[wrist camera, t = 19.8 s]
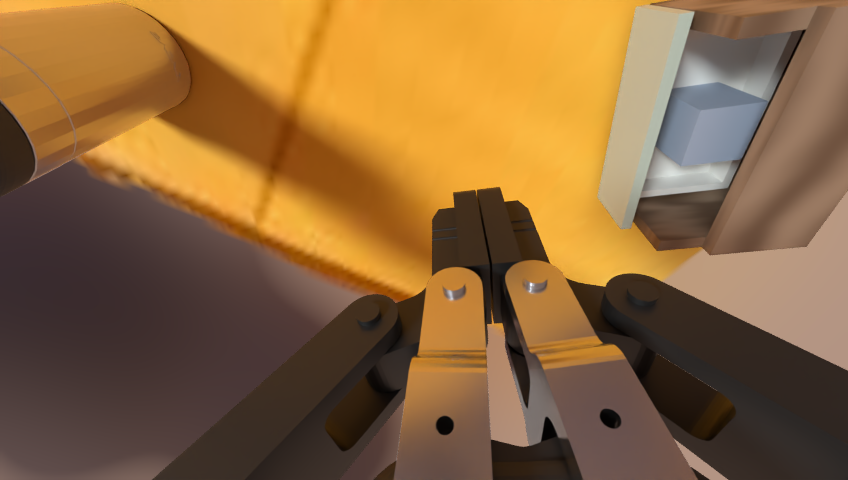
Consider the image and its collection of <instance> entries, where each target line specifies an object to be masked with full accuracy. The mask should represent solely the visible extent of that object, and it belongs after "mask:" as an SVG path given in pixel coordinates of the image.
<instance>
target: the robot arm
mask: <svg viewBox="0 0 848 480" xmlns="http://www.w3.org/2000/svg"><path fill="white" fill-rule="evenodd" d="M190 85H191V76H190V70H189V66H188V63H187V61H186V58H185V56H184V54H183V52H182V50H181V48H180V47H179V45H178V44H177V42H176V41H175V39H174V38H173V37H172V36H171V35H170V33H169V32H168V31H167V30H166V29H165V28H164V27H163V26H162V25H160V24H159V23H158V22H157V21H156V20H155V19H153V18H152V17H150V16H149V15H147V14H146V13H144V12H142V11H140V10H138V9H136V8H134V7H131V6H128V5H124V4H119V3H105V4H94V5H84V6H71V7H61V8H50V9H40V10H30V11H19V12H9V13H0V197H1V196H3V195H5V194H7V193H9V192H11V191H13V190H15V189H17V188H19V187H20V186H23V185H24V184H26V183H28V182H30V181H32V180H34V179H36V178H38V177H40V176H42V175H44V174H45V173H48V172H50V171H52V170H53V169H55V168H57V167H59V166H61V165H62V164H64V163H66V162H68V161H70V160H72V159H74V158H76V157H78V156H80V155H82V154H84V153H86V152H88V151H89V150H91V149H93V148H95V147H97V146H99V145H101V144H103V143H105V142H107V141H109V140H111V139H113V138H115V137H116V136H118V135H120V134H122V133H124V132H126V131H128V130H130V129H132V128H134V127H136V126H138V125H140V124H142V123H143V122H145V121H147V120H149V119H151V118H153V117H155V116H157V115H159V114H161V113H163V112H165V111H167V110H169V109H171V108H173V107H174V106H176V105H178V104H180V103H181V102H182V101H183V100H184V99H185V98H186V97H187V95H188V93H189V90H190ZM453 196H454V207H455V208H446V209H439V210H438V211H437V213H436V214H435V216H434V218H433V219H432V231H433V232H432V240H433V241H432V277H431V278H430V280H429V281H428V283H427V287H426V288H425V289H424V290H423V291H422V292H421V293H419V294H418V295H416V296H414V297H412V298H409V299H406V300H404V301H401V302H398V303H395V302H394V301H393V300H392V299H391V298H389V297H387V296H384V295H379V294H373V295H367V296H364V297H361V298H359V299H357V300H356V301H354V302H353V303H352V304H350V305H349V306H348V307H347V308H346V309H345V310H343V311H342V312H341V313H340V314H339V315H338V316H337V317H336V318H334V319H333V320H332V321H331V322H330V323H329V324H328V325H327V326H325V327H324V328H323V329H322V330H321V331H320V332H319V333H317V334H316V335H315V336H314V337H313V338H312V339H311V340H310V341H308V342H307V343H306V344H305V345H304V346H303V347H302V348H301V349H299V350H298V351H297V352H296V353H295V354H294V355H293V356H291V357H290V358H289V359H288V360H287V361H286V362H285V363H284V364H282V365H281V366H280V367H279V368H278V369H277V370H276V371H274V372H273V373H272V374H271V375H270V376H269V377H268V378H267V379H265V380H264V381H263V382H262V383H261V384H260V385H259V386H258V387H256V388H255V389H254V390H253V391H252V392H251V393H250V394H249V395H247V396H246V397H245V398H244V399H243V400H242V401H241V402H239V404H237V405H236V406H235V407H234V408H233V409H231V410H230V411H229V412H228V413H227V414H226V415H225V416H224V417H222V418H221V419H220V420H219V421H218V422H217V423H216V424H215V425H214V426H212V427H211V428H210V429H209V430H208V431H207V432H206V433H204V434H203V435H202V436H201V437H200V438H199V439H198V440H196V442H195V443H193V444H192V445H191V446H190V447H189V448H187V449H186V450H185V451H184V452H183V453H182V454H181V455H180V456H178V457H177V458H176V459H175V460H174V461H173V462H172V463H170V464H169V465H168V466H167V467H166V468H165V469H164V470H163V471H161V472H160V473H159V474H158V475H157V476H156V477H155V478H154V479H153V480H340V478H341V477H342V476H343V475H344V473H345V472H346V471H347V470H348V468H349V467H350V466H351V465H352V463H353V462H354V461H355V460H356V459H357V457H358V456H359V455H360V453H361V452H362V451H363V450H364V448H365V447H366V446H367V445H368V444H369V442H370V441H371V440H372V439H373V437H374V436H375V435H376V434H377V433H378V431H379V430H380V429H381V427H382V426H383V425H384V424H385V423H386V421H387V420H388V419H389V418H390V416H391V415H392V414H393V413H394V411H395V410H396V409H397V408H398V406H399V405H400V404H401V403H402V401H403V400H404V399H405V403H404V410H403V417H402V424H401V432H400V438H399V446H398V453H397V460H396V461H395V462H394V463H392V464H391V465H389V466H388V467H387V468H385V470H383V471H382V472H381V473H380V474H379V475H378V476H377V477H376V478H375V479H374V480H709V479H708V478H706V477H705V476H704V475H702V474H701V473H699V472H698V471H696V470H695V469H693V468H692V467H690V466H689V464H688V462H687V461H686V459H685V457H684V456H683V454H682V452H681V450H680V449H679V447H678V445H677V444H676V442H675V440H677V441H678V442H679V443H681V444H682V445H683V446H685V447H686V448H687V449H689V450H690V451H691V452H693V453H694V454H695V455H697V456H698V457H699V458H701V459H702V460H703V461H704V462H706V463H707V464H709V465H710V466H711V467H713V468H714V469H715V470H716V471H718V472H719V473H720V474H722V475H723V476H724V477H726V478H727V479H728V480H848V371H847V370H845V369H843V368H841V367H839V366H837V365H834V364H833V363H830V362H829V361H826V360H824V359H822V358H820V357H818V356H816V355H814V354H812V353H810V352H808V351H805V350H803V349H801V348H799V347H797V346H795V345H793V344H791V343H789V342H786V341H785V340H782V339H780V338H778V337H776V336H774V335H772V334H770V333H768V332H766V331H764V330H762V329H760V328H757V327H755V326H753V325H751V324H749V323H747V322H745V321H743V320H741V319H738V318H737V317H734V316H732V315H730V314H728V313H726V312H724V311H722V310H720V309H717V308H716V307H714V306H711V305H709V304H707V303H705V302H703V301H701V300H699V299H696V298H695V297H693V296H690V295H688V294H686V293H684V292H682V291H680V290H678V289H676V288H674V287H672V286H670V285H667V284H665V283H663V282H661V281H659V280H657V279H655V278H652V277H649V276H646V275H641V274H622V275H618V276H615V277H613V278H612V279H611V280H609V282H608V283H607V285H606V287H603V286H596V285H590V284H583V283H578V282H575V281H572V280H569V279H567V278H565V277H564V275H563V273H562V272H561V271H560V270H559V269H558V268H556V267H555V266H553V265H551V264H550V262H549V260H548V257H547V255H546V252H545V250H544V247H543V245H542V242H541V240H540V237H539V235H538V232H537V230H536V227H535V225H534V222H533V221H532V217H531V215H530V212H529V210H528V208H527V207H525V206H524V205H523V204H522V203H520V202H519V201H518V200H517V201H508V202H504V199H503V196H502V192H501V189H500V187H496V188H487V189H479V190H477V196H476V191H475V190H471V191H462V192H454V193H453ZM491 308H492V314H493V320H494V323H503V327H504V332H505V349H506V353H507V356H508V360H509V363H510V367H511V371H512V374H513V378H514V381H515V385H516V388H517V392H518V395H519V399H520V402H521V406H522V410H523V414H524V419H525V424H526V432H527V438H528V443H529V446H527V447H519V446H515V445H511V444H507V443H503V442H499V441H495V440H491V433H490V432H491V430H490V412H489V393H488V375H487V356H486V347H487V344H488V330H487V324H492V317H491ZM658 354H659V355H658ZM660 355H661V356H660ZM663 357H664V358H663ZM668 360H669V361H668ZM671 362H672V363H671ZM676 365H677V366H676ZM679 367H680V368H679ZM684 370H685V371H684ZM687 372H688V373H687ZM689 373H690V374H689ZM692 375H693V376H692ZM697 378H698V379H697ZM700 380H701V381H700ZM705 383H706V384H705ZM708 385H709V386H708ZM710 386H711V387H710ZM713 388H714V389H713ZM718 391H719V392H718ZM674 439H675V440H674Z"/></svg>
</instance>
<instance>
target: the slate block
mask: <svg viewBox="0 0 848 480" xmlns="http://www.w3.org/2000/svg"><path fill="white" fill-rule="evenodd" d="M768 102H769V101H767V100H764V99H761V98H759V97H756V96H754V95H751V94H748V93H746V92H743V91H741V90H738V89H735V88H733V87H730V86H728V85H725V84H722V83H720V82H715V83H708V84H701V85H694V86H687V87H680V88H673V89H672V90H671V94H670V97H669V100H668V104H667V107H666V111H665V114H664V117H663V121H662V124H661V128H660V131H659V134H658V138H657V141H656V144H655V147H657V148H658V149H659V150H660V151H662V152H663V153H664V154H666V155H667V156H668V157H669V158H671V159H672V160H673V161H674V162H676V163H677V164H678V165H680V166H689V165H697V164H706V163H714V162H722V161H731V160H739V159H742V157H743V154H744V152H745V150H746V148H747V146H748V144H749V142H750V140H751V138H752V135H753V133H754V131H755V129H756V127H757V125H758V123H759V121H760V118H761V116H762V114H763V112H764V110H765V108H766V106H767V104H768Z"/></svg>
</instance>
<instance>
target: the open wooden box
mask: <svg viewBox="0 0 848 480" xmlns="http://www.w3.org/2000/svg"><path fill="white" fill-rule="evenodd" d="M650 5H654V6H661V7H667V8H674V9H681V10H687V11H694V16H693V19H692V23H691V26H690V30H694V31H699V32H703V33H708V34H712V35H717V36H721V37H726V38H730V39H735V40H739V39H746V38H752V37H759V36H765V35H772V34H778V33H785V32H791V31H798V30H803V31H802V33H801V36H800V38H799V40H798V42H797V44H796V46H795V48H794V50H793V52H792V54H791V57H790V59H789V61H788V63H787V65H786V67H785V69H784V71H783V73H782V75H781V78H780V80H779V82H778V84H777V86H776V88H775V90H774V92H773V94H772V96H771V99H770V101H769V103H768V105H767V107H766V109H765V111H764V113H763V115H762V117H761V120H760V122H759V124H758V126H757V128H756V130H755V132H754V134H753V136H752V138H751V141H750V143H749V145H748V147H747V149H746V151H745V153H744V155H743V157H742V159H741V162H740V164H739V166H738V168H737V170H736V172H735V174H734V176H733V178H732V180H731V183H730V185H729V187H728V188H724V189H715V190H706V191H697V192H688V193H678V194H669V195H660V196H651V197H642V198H640V199H639V202H638V205H637V209H636V212H635V216H634V219H633V222H634V223H635V224H636V225H637V227H638V228H639V229H640V230H641V232H642V233H643V234H644V235H645V237H646V238H647V239H648V240H649V242H650V243H651V244H652V245H653V247H654V248H655V249H656V250H657V251H662V250H673V249H684V248H695V247H702V248H703V249H704V250H705V251H706V252H707V253H708V254H709V255H718V254H729V253H740V252H751V251H763V250H774V249H785V248H795V247H806V246H807V245H808V244H809V242H810V241H811V240H812V238H813V237H814V236H815V234H816V233H817V232H818V230H819V229H820V228H821V226H822V225H823V223H824V222H825V221H826V219H827V218H828V216H829V215H830V214H831V212H832V211H833V210H834V208H835V207H836V206H837V204H838V203H839V202H840V200H841V199H842V198H843V196H844V195H845V193H846V192H847V191H848V0H670V1H664V2H658V3H652V4H650Z"/></svg>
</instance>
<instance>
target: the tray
mask: <svg viewBox="0 0 848 480" xmlns="http://www.w3.org/2000/svg"><path fill="white" fill-rule="evenodd" d="M693 16H694V11H687V10H681V9H674V8H667V7H661V6H654V5H643V6H637V7H636V9H635V14H634V19H633V24H632V29H631V34H630V39H629V44H628V49H627V54H626V59H625V63H624V68H623V73H622V78H621V83H620V88H619V93H618V98H617V103H616V108H615V113H614V118H613V123H612V127H611V132H610V137H609V142H608V147H607V152H606V157H605V162H604V167H603V172H602V177H601V182H600V187H599V191H598V196H597V197H598V199H599V200H600V201H601V203H602V204H603V206H604V207H605V208H606V210H607V211H608V212H609V214H610V215H611V217H612V218H613V219H614V221H615V222H616V223H617V225H618V226H619V228H620V229H629V228H631V226H632V222H633V219H634V216H635V212H636V209H637V205H638V202H639V199H640V198H642V197H651V196H660V195H669V194H678V193H688V192H697V191H706V190H715V189H724V188H728V187H729V185H730V183H731V180H732V178H733V176H734V174H735V172H736V170H737V168H738V166H739V164H740V162H741V159H739V160H731V161H722V162H714V163H706V164H697V165H689V166H680V165H678V164H677V163H676V162H674V161H673V160H672V159H671V158H669V157H668V156H667V155H666V154H664V153H663V152H662V151H660V150H659V149H658V148H657V147H655V144H656V141H657V138H658V134H659V131H660V128H661V124H662V121H663V117H664V114H665V111H666V107H667V104H668V100H669V97H670V94H671V90H672V89H673V88H680V87H687V86H694V85H701V84H708V83H715V82H720V83H722V84H725V85H728V86H730V87H733V88H735V89H738V90H741V91H743V92H746V93H748V94H751V95H754V96H756V97H759V98H761V99H764V100H767V101H770V99H771V96H772V94H773V92H774V90H775V88H776V86H777V84H778V82H779V80H780V78H781V75H782V73H783V71H784V69H785V67H786V65H787V63H788V61H789V59H790V57H791V54H792V52H793V50H794V48H795V46H796V44H797V42H798V40H799V38H800V36H801V33H802V31H803V30H798V31H791V32H785V33H778V34H772V35H765V36H759V37H752V38H746V39H739V40H735V39H730V38H726V37H721V36H717V35H712V34H708V33H703V32H699V31H694V30H690V26H691V23H692V19H693ZM768 103H769V102H768ZM767 105H768V104H767ZM766 107H767V106H766ZM765 109H766V108H765ZM764 111H765V110H764ZM763 113H764V112H763ZM762 115H763V114H762ZM761 117H762V116H761ZM760 120H761V118H760ZM759 122H760V121H759ZM758 124H759V123H758ZM757 126H758V125H757ZM756 128H757V127H756ZM755 130H756V129H755ZM754 132H755V131H754ZM753 134H754V133H753ZM752 136H753V135H752ZM750 141H751V140H750ZM749 143H750V142H749ZM748 145H749V144H748ZM747 147H748V146H747ZM746 149H747V148H746ZM745 151H746V150H745ZM744 153H745V152H744ZM743 155H744V154H743Z"/></svg>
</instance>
